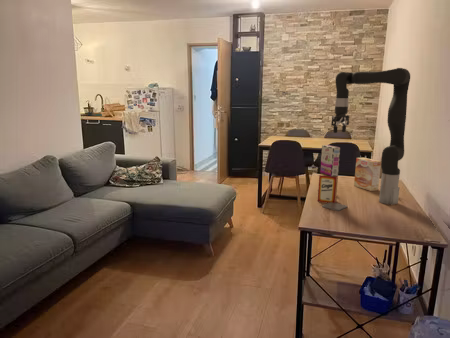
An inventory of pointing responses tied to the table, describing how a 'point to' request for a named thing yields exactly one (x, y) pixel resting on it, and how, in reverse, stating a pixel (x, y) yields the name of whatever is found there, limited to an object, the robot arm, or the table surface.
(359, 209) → the table surface
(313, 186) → the table surface
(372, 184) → the coffeecake box
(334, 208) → the slate coaster
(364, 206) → the table surface
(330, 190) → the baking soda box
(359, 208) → the table surface
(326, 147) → the candy bar box
